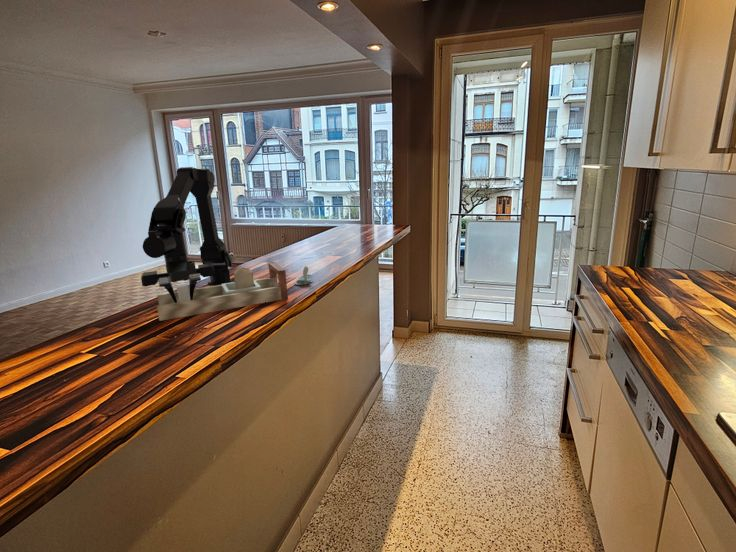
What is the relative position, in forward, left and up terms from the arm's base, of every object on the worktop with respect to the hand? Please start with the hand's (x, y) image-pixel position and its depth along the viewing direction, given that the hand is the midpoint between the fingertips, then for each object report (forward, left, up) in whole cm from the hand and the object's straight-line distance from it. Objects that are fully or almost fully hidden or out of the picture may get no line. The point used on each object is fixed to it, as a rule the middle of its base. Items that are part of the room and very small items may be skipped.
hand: (184, 302), depth 118 cm
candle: (+10, +14, -2) cm, 18 cm away
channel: (+7, +9, -2) cm, 11 cm away
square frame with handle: (+6, +8, -2) cm, 10 cm away
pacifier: (+17, +35, -2) cm, 39 cm away
